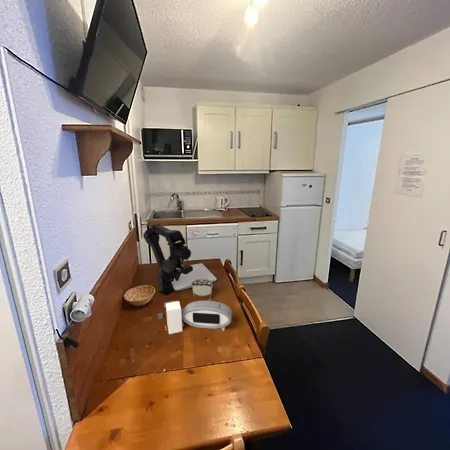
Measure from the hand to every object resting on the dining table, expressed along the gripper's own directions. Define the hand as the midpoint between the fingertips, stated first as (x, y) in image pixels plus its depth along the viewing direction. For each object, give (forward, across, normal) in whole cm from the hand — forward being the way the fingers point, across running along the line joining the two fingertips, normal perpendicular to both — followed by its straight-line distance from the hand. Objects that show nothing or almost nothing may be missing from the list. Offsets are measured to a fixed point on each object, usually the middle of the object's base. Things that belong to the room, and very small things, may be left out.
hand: (177, 280), depth 138 cm
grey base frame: (+12, +8, -14) cm, 20 cm away
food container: (+12, +10, +10) cm, 19 cm away
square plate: (+13, -10, +22) cm, 28 cm away
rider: (+10, +16, -21) cm, 28 cm away
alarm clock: (+12, +27, -10) cm, 31 cm away
